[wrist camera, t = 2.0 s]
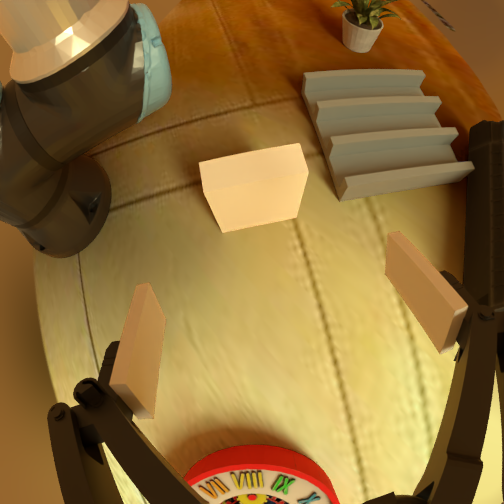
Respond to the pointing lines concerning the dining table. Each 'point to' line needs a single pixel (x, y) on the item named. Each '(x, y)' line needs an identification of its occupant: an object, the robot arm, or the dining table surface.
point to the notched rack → (380, 131)
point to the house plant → (362, 23)
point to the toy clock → (260, 477)
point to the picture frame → (255, 186)
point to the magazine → (485, 216)
